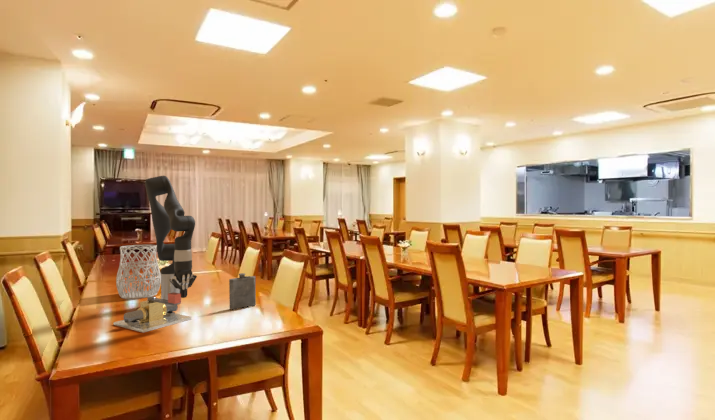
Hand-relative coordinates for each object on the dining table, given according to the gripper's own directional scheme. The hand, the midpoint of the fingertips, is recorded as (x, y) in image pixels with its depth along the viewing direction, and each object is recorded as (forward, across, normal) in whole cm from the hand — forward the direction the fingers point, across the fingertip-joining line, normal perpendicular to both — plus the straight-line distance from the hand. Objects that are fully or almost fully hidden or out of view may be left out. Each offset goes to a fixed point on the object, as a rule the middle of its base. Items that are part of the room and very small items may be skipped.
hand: (183, 297), depth 190 cm
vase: (+12, -25, -80) cm, 84 cm away
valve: (+12, +5, -17) cm, 21 cm away
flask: (+13, -36, -2) cm, 38 cm away
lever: (+2, +5, -8) cm, 10 cm away
